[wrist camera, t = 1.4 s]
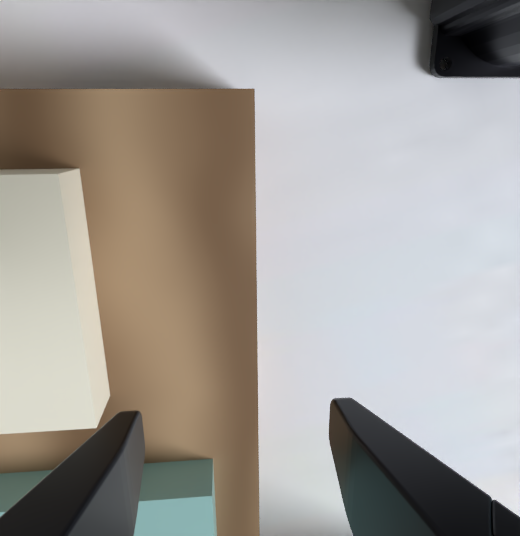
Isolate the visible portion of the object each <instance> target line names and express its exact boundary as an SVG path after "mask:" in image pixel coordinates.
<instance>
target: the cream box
mask: <svg viewBox="0 0 520 536" xmlns="http://www.w3.org/2000/svg"><path fill="white" fill-rule="evenodd" d="M109 397H110V390H109V383H108V376H107V368H106V361H105V353H104V346H103V339H102V331H101V324H100V316H99V309H98V302H97V294H96V287H95V280H94V272H93V265H92V257H91V250H90V243H89V235H88V228H87V220H86V213H85V206H84V198H83V191H82V184H81V176H80V169H79V168H69V169H3V170H0V434H12V433H28V432H44V431H60V430H75V429H91V428H97V426H98V424H99V421H100V419H101V416H102V414H103V412H104V409H105V407H106V404H107V402H108V400H109Z"/></svg>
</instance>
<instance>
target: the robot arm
mask: <svg viewBox="0 0 520 536" xmlns="http://www.w3.org/2000/svg"><path fill="white" fill-rule="evenodd" d="M430 20H431V21H432V23H433V25H434V29H433V39H432V48H431V58H430V71H431V73H432V75H434V76H435V77H438V78H520V0H432V3H431V13H430ZM442 59H445V60H446V62H447V67H446V69H445V70H442V69H441V68H440V62H441V60H442ZM329 440H330V446H331V450H332V455H333V459H334V463H335V468H336V472H337V476H338V481H339V485H340V489H341V494H342V498H343V503H344V507H345V511H346V515H347V518H348V521H349V524H350V527H351V530H352V533H353V536H520V517H519V516H518V515H516V514H515V513H513V512H512V511H510V510H509V509H508V508H506V507H505V506H503V505H502V504H501V503H499V502H498V501H496V500H492V499H491V497H490V496H489V495H488V494H486V493H485V492H483V491H482V490H481V489H479V488H478V487H476V486H475V485H474V484H472V483H471V482H469V481H468V480H466V479H465V478H464V477H462V476H461V475H459V474H458V473H457V472H455V471H454V470H452V469H451V468H450V467H448V466H447V465H445V464H444V463H443V462H441V461H440V460H438V459H437V458H435V457H434V456H433V455H431V454H430V453H428V452H427V451H426V450H424V449H423V448H421V447H420V446H419V445H417V444H416V443H414V442H413V441H412V440H410V439H409V438H407V437H406V436H404V435H403V434H402V433H400V432H399V431H397V430H396V429H395V428H393V427H392V426H390V425H389V424H388V423H386V422H385V421H383V420H382V419H381V418H379V417H378V416H376V415H375V414H373V413H372V412H371V411H369V410H368V409H366V408H365V407H364V406H362V405H361V404H359V403H358V402H357V401H355V400H354V399H352V398H335V399H333V400H332V401H331V404H330V420H329ZM144 459H145V439H144V430H143V421H142V415H141V412H140V411H138V410H133V411H120V412H118V413H117V414H116V415H115V416H114V417H112V418H111V419H110V420H109V421H108V422H107V423H106V424H105V425H103V426H102V427H101V428H100V429H99V430H98V431H97V432H95V433H94V434H93V435H92V436H91V437H90V438H89V439H88V440H86V441H85V442H84V443H83V444H82V445H81V446H80V447H79V448H77V449H76V450H75V451H74V452H73V453H72V454H71V455H70V456H68V457H67V458H66V459H65V460H64V461H63V462H62V463H60V464H59V465H58V466H57V467H56V468H55V469H54V470H53V471H51V472H50V473H49V474H48V475H47V476H46V477H45V478H44V479H42V480H41V481H40V482H39V483H38V484H37V485H36V486H34V487H33V488H32V489H31V490H30V491H29V492H28V493H27V494H25V495H24V496H23V497H22V498H21V499H20V500H19V501H18V502H16V503H15V504H14V505H13V506H12V507H11V508H10V509H9V510H7V511H6V512H5V513H4V514H3V515H2V516H1V517H0V536H134V531H135V524H136V518H137V511H138V503H139V496H140V488H141V481H142V473H143V466H144Z"/></svg>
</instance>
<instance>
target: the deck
mask: <svg viewBox="0 0 520 536" xmlns="http://www.w3.org/2000/svg"><path fill="white" fill-rule="evenodd" d="M69 168H79V169H80V176H81V184H82V191H83V198H84V206H85V213H86V220H87V228H88V235H89V243H90V250H91V257H92V265H93V272H94V280H95V287H96V294H97V302H98V309H99V316H100V324H101V331H102V339H103V346H104V353H105V361H106V368H107V376H108V383H109V390H110V397H109V400H108V402H107V404H106V407H105V409H104V412H103V414H102V416H101V419H100V421H99V424H98V426H97V428H91V429H75V430H60V431H44V432H28V433H12V434H0V474H2V473H16V472H31V471H45V470H54V469H55V468H56V467H57V466H58V465H59V464H60V463H62V462H63V461H64V460H65V459H66V458H67V457H68V456H70V455H71V454H72V453H73V452H74V451H75V450H76V449H77V448H79V447H80V446H81V445H82V444H83V443H84V442H85V441H86V440H88V439H89V438H90V437H91V436H92V435H93V434H94V433H95V432H97V431H98V430H99V429H100V428H101V427H102V426H103V425H105V424H106V423H107V422H108V421H109V420H110V419H111V418H112V417H114V416H115V415H116V414H117V413H118V412H120V411H133V410H138V411H140V412H141V415H142V421H143V430H144V439H145V459H144V464H145V463H160V462H174V461H188V460H203V459H213V469H214V488H215V508H216V527H217V536H259V461H258V371H257V281H256V192H255V102H254V89H0V170H3V169H69Z"/></svg>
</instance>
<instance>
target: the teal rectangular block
mask: <svg viewBox="0 0 520 536" xmlns="http://www.w3.org/2000/svg"><path fill="white" fill-rule="evenodd" d="M51 471H53V470H45V471H31V472H16V473H2V474H0V517H1V516H2V515H3V514H4V513H5V512H6V511H7V510H9V509H10V508H11V507H12V506H13V505H14V504H15V503H16V502H18V501H19V500H20V499H21V498H22V497H23V496H24V495H25V494H27V493H28V492H29V491H30V490H31V489H32V488H33V487H34V486H36V485H37V484H38V483H39V482H40V481H41V480H42V479H44V478H45V477H46V476H47V475H48V474H49V473H50V472H51ZM134 536H217V527H216V508H215V488H214V469H213V459H203V460H188V461H174V462H160V463H145V464H144V466H143V473H142V481H141V488H140V496H139V503H138V511H137V518H136V524H135V531H134Z"/></svg>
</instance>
